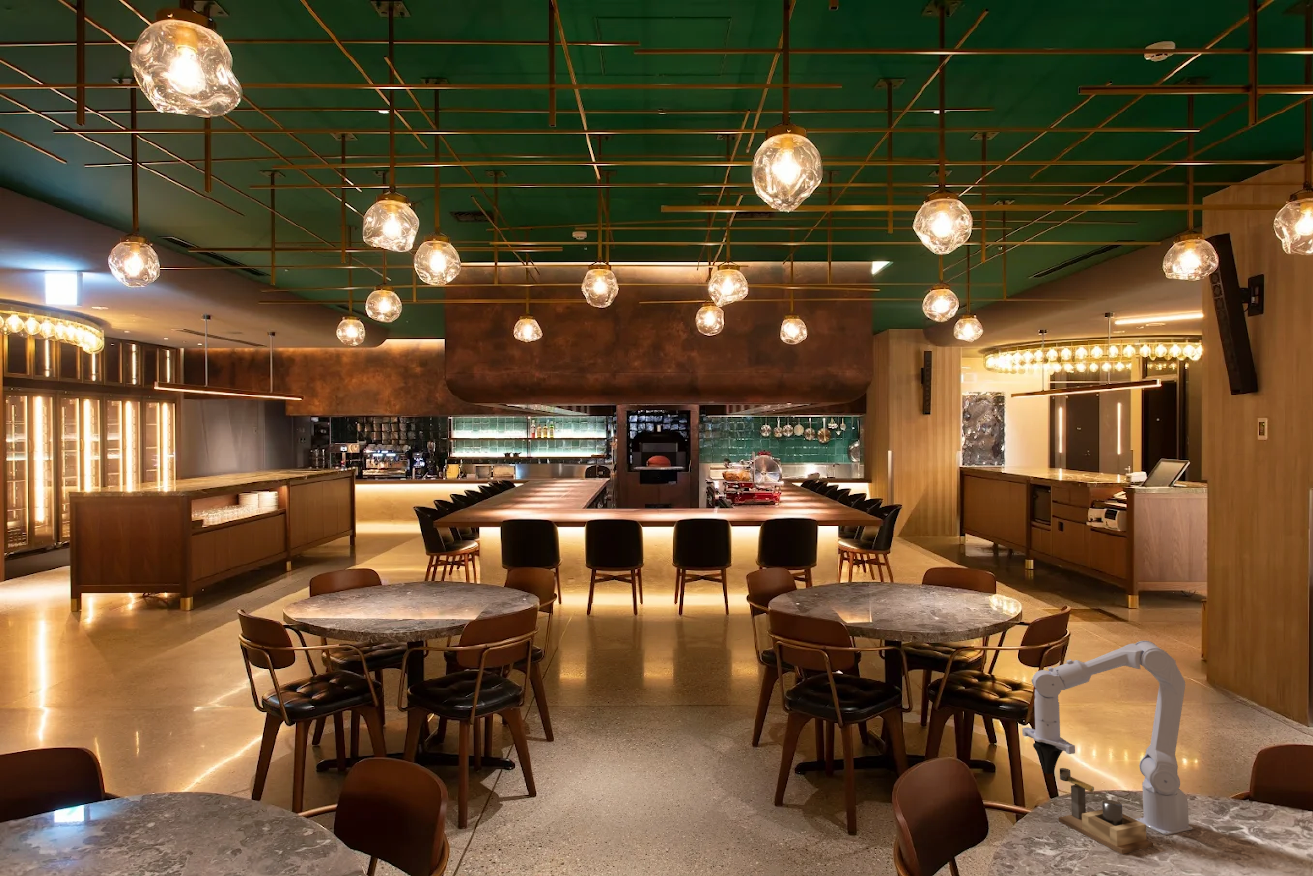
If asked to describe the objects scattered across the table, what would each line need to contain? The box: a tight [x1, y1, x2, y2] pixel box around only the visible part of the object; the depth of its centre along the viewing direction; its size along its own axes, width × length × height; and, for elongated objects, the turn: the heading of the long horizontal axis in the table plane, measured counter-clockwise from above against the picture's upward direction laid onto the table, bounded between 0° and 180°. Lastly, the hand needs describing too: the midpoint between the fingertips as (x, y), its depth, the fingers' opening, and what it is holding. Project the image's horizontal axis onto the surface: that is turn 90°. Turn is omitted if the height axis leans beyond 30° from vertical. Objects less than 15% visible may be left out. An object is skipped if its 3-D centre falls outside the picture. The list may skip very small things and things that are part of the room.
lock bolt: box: [1059, 767, 1095, 793], centre depth 185 cm, size 2×9×2 cm, turn 19°
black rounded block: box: [1101, 799, 1123, 826], centre depth 175 cm, size 4×4×7 cm
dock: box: [1058, 784, 1154, 855], centre depth 177 cm, size 10×17×8 cm, turn 19°
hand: (1048, 773), depth 190 cm, fingers closed
